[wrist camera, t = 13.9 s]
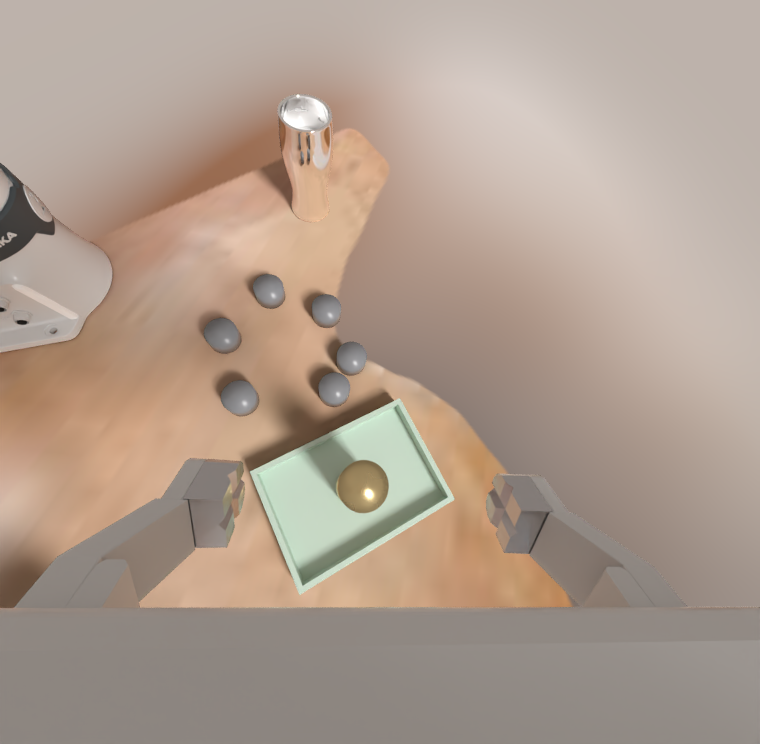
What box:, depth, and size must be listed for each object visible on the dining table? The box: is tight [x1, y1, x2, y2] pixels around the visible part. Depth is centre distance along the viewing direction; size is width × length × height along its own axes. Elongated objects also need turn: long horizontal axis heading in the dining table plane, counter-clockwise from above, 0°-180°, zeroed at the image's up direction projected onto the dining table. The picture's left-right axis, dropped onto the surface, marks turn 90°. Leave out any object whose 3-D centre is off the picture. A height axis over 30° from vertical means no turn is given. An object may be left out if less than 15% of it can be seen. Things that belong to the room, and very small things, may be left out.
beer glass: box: [278, 94, 333, 222], centre depth 49 cm, size 7×7×15 cm
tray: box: [250, 398, 455, 595], centre depth 41 cm, size 20×14×3 cm
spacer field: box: [204, 274, 367, 416], centre depth 46 cm, size 19×21×2 cm
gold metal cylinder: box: [336, 460, 389, 513], centre depth 36 cm, size 4×4×13 cm
